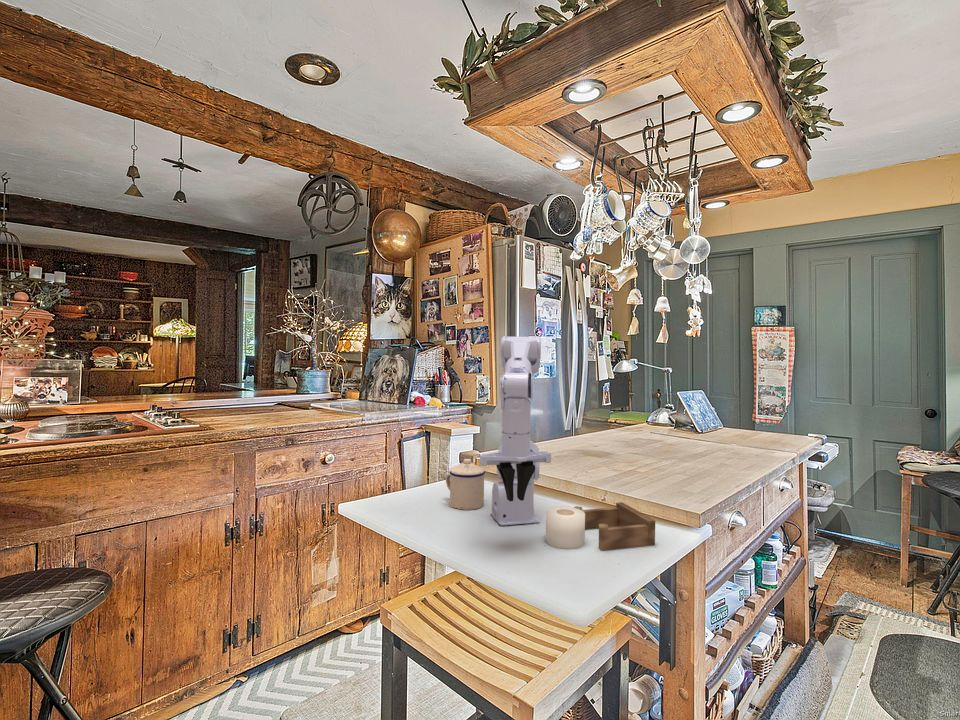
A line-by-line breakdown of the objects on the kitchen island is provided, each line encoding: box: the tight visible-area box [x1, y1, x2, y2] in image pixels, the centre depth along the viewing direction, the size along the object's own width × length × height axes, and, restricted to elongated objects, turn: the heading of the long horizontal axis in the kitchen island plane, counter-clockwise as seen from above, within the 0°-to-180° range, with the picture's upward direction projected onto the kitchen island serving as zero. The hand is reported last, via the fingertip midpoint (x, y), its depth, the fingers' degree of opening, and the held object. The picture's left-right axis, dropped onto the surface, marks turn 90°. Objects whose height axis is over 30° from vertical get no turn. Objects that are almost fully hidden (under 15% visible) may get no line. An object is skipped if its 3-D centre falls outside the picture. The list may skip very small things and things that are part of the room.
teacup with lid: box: [445, 458, 486, 511], centre depth 125 cm, size 12×9×12 cm
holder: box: [573, 501, 656, 552], centre depth 104 cm, size 12×13×5 cm
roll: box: [544, 506, 586, 550], centre depth 101 cm, size 8×8×6 cm
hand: (515, 499), depth 98 cm, fingers closed
